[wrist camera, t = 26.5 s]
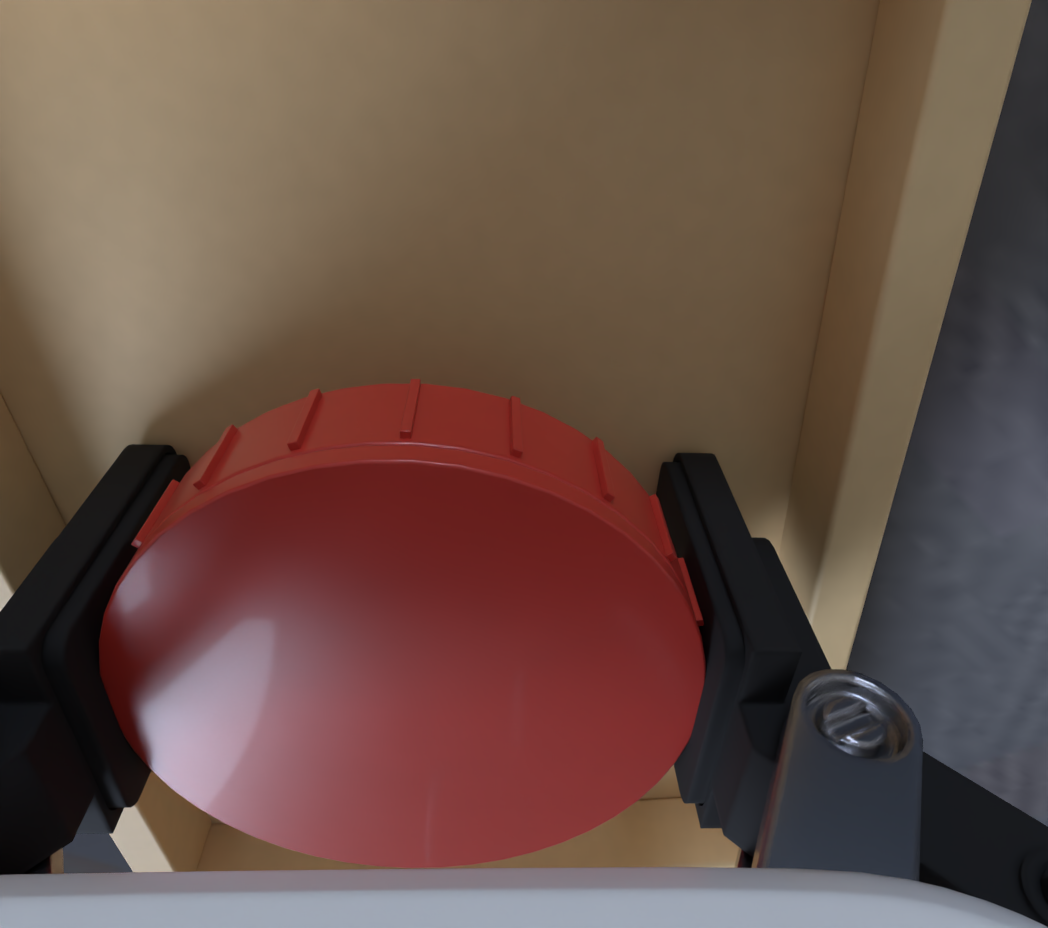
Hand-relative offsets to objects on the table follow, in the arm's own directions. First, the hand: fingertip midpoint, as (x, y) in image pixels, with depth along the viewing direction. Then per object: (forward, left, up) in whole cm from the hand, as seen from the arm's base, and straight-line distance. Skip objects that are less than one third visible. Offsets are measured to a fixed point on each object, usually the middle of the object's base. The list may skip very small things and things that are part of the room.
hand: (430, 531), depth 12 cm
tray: (0, 0, -1) cm, 1 cm away
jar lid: (0, 0, +3) cm, 3 cm away
